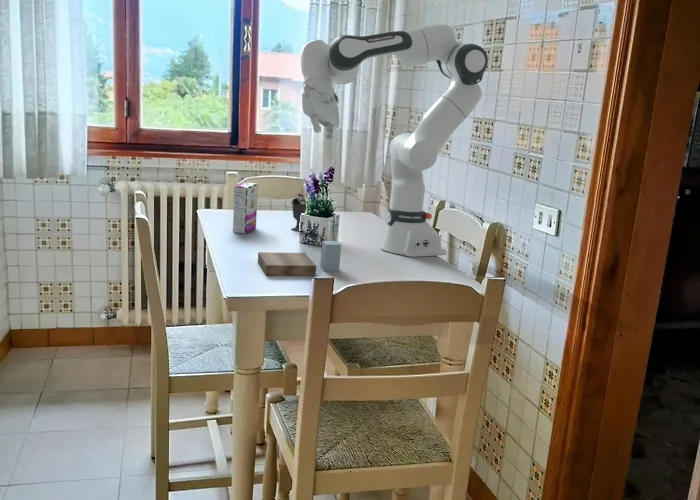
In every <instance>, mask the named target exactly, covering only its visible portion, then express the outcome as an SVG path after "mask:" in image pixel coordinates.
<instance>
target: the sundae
mask: <svg viewBox="0 0 700 500" xmlns="http://www.w3.org/2000/svg"><path fill="white" fill-rule="evenodd" d="M303 190H304V189H303V188H301V192H300V193H297V195H296V196H295V197H294V198H293V199H292V201H291V202H290V204H291V206H292V214H293V215H292V216H293V218H294V219H295V220H296V225H295V227H292V228H291V229H290V230H291V231H293V230H294V232H300V231H299V223H300V224H301V221H300V215H301V213H305V214H306V210H307V207H306V203H307V202H308V201H307V200H306V198H305V195H304V192H303Z"/></svg>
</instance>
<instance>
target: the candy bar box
mask: <svg viewBox="0 0 700 500" xmlns="http://www.w3.org/2000/svg"><path fill="white" fill-rule="evenodd" d="M258 185H259V184H258V183H256V182H247V181H246V182H244V183H239V184H238V185H235V186H234V187H233V188H234V190H233V191H234V192H233V194H234V195H233V220H232V221H233V222H232V224H233V227H232V233H235V234H241V235H242V234H243V235H246V234H248V233H250V232H251V231H254V230H255V229H256V228H257V210H258V208H257V207H258V188H259V187H258Z"/></svg>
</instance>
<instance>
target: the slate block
mask: <svg viewBox="0 0 700 500" xmlns="http://www.w3.org/2000/svg"><path fill="white" fill-rule="evenodd" d="M321 242H322V243H321V252H320V253H321V254H320V264H319V265H320V269H321V270H322V271H323V272H340V263H341V255H342V254H341V252H342V251H341V249H342V244H341V243H340V242H339V241H338V240H322V241H321Z"/></svg>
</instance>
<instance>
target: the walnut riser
mask: <svg viewBox="0 0 700 500" xmlns="http://www.w3.org/2000/svg"><path fill="white" fill-rule="evenodd" d="M257 254H258V255H257V263H258V265H259V267H260V268H261V270H262V272H263V273H264V274H265V275H264V276H266V277H316V274H317V273H316V272H317V265H316V263H315V262H314V261H313V260H312V259H311V258H310V257H309V256H308V255H307V254H306V253H305V252H268V251H267V252H262V251H259V252H258V253H257Z"/></svg>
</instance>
